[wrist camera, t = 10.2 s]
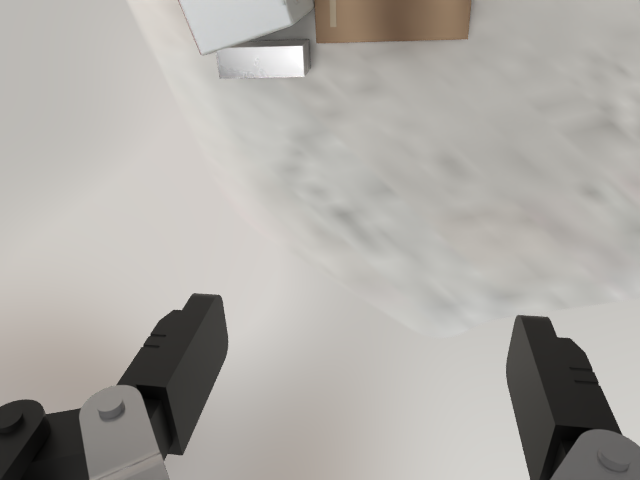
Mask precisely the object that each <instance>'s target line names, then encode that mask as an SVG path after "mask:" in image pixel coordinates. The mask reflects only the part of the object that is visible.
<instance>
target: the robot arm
mask: <svg viewBox="0 0 640 480" xmlns="http://www.w3.org/2000/svg"><path fill="white" fill-rule="evenodd" d="M227 350H228V334H227V327H226V321H225V314H224V307H223V301H222V298H221V296H220V295H212V294H196V293H194V294H192V296H191V297H190V298H189V300H188V302H187V303H186V305H185V306H184V308H183V310H173V311H172V312H170V313H169V314H168V315H166V316H165V317H164V318H162V319H161V320H160V321H159V322H158V323H157V325H156V327H155V328H154V329H153V331H152V332H151V336H149V337H148V338H147V340H146V341H145V343H144V346H143V347H142V348H141V349H140V351H139V352H138V354H137V355H136V356H135V358H134V359H133V361H132V362H131V364H130V366H129V367H128V368H127V370H126V371H125V373H124V375H123V376H122V377H121V379H120V380H119V382H118V384H117V385H116V386H111V387H108V388H105V389H103V390H101V391H99V392H97V393H95V394H94V395H92V396H91V397H90V398H89V399H88V400H87V401H86V402H85V403H84V405H83V406H82V408H80V409H75V410H69V411H63V412H57V413H51V414H45V411H44V409H43V407H42V406H41V404H40V403H38V402H37V401H34V400H18V401H14V402H11V403H8V404H5V405H3V406H1V407H0V480H169V476H168V473H167V470H166V467H165V464H164V460H165V458H166V456H167V454H174V455H183V453H184V451H185V449H186V447H187V444H188V442H189V440H190V437H191V435H192V433H193V431H194V429H195V426H196V424H197V422H198V419H199V417H200V415H201V413H202V410H203V408H204V406H205V404H206V401H207V399H208V397H209V394H210V392H211V390H212V388H213V386H214V383H215V381H216V379H217V376H218V374H219V372H220V370H221V367H222V365H223V363H224V361H225V358H226V355H227ZM506 377H507V384H508V388H509V392H510V397H511V401H512V404H513V409H514V413H515V417H516V422H517V426H518V430H519V434H520V438H521V442H522V447H523V451H524V455H525V459H526V463H527V468H528V471H529V476H530V480H640V447H639V446H638V445H637V444H636V443H635V442H633V441H632V440H630V439H629V438H626V437H625V436H623V435H622V433H621V431H620V429H619V426H618V424H617V422H616V420H615V418H614V415H613V413H612V411H611V409H610V407H609V404H608V402H607V400H606V398H605V396H604V393H603V391H602V389H601V387H600V386H599V385H598V380H597V378H596V376H595V373H594V372H593V371H592V367H591V364H590V362H589V360H588V358H587V356H586V354H585V352H584V351H583V350H582V349H581V348H580V347H579V346H578V345H577V344H575V342H573V341H572V340H571V339H570V338H558V337H557V336H556V333H555V331H554V328H553V325H552V323H551V321H550V319H549V318H548V317H539V316H524V315H518V316H517V317H516V319H515V323H514V328H513V332H512V337H511V342H510V347H509V352H508V357H507V364H506Z"/></svg>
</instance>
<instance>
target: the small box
mask: <svg viewBox="0 0 640 480" xmlns="http://www.w3.org/2000/svg"><path fill="white" fill-rule="evenodd" d="M178 1H179V4H180V6H181V8H182V11H183V13H184V15H185V18H186V20H187V23H188V25H189V28H190V30H191V33H192V35H193V37H194V40H195V42H196V45H197V47H198V49H199V52H200V55H207V54H210V53H213V52H216V51H219V50H222V49H225V48H228V47H231V46H234V45H237V44H240V43H243V42H246V41H249V40H252V39H255V38H258V37H261V36H264V35H267V34H270V33H273V32H275V31H278V30H281V29H284V28H287V27H290V26H292V25H294V24H295V23H296V22H297V21H299V20H300V19H301V18H302V17H304V16H305V15H306V14H307V13H309V12H310V11H311V10H312V9H313V8H315V1H314V0H178Z"/></svg>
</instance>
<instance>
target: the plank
mask: <svg viewBox="0 0 640 480" xmlns="http://www.w3.org/2000/svg"><path fill="white" fill-rule="evenodd" d="M314 1H315V23H316V43H345V42H381V41H418V40H454V39H468V32H469V21H470V11H471V0H314Z"/></svg>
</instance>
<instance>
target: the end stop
mask: <svg viewBox="0 0 640 480" xmlns="http://www.w3.org/2000/svg"><path fill="white" fill-rule="evenodd" d="M216 55H217V62H218V70H219V77H220V78H271V77H305V75H306V74H307V72H308V71H309V70H310V68H311V67H310V48H309V39H300V40H265V41H246V42H243V43H240V44H237V45H234V46H231V47H228V48H225V49H222V50H219V51H216Z"/></svg>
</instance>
